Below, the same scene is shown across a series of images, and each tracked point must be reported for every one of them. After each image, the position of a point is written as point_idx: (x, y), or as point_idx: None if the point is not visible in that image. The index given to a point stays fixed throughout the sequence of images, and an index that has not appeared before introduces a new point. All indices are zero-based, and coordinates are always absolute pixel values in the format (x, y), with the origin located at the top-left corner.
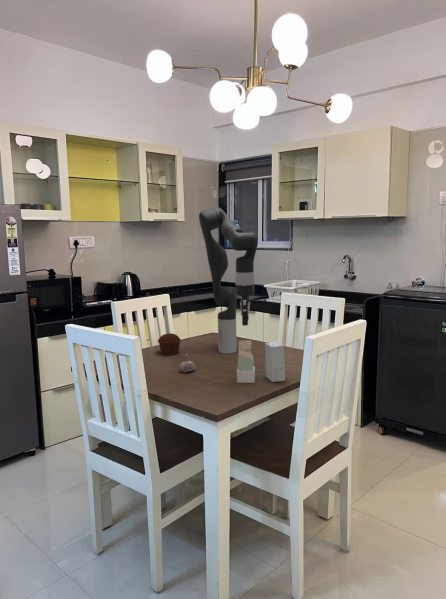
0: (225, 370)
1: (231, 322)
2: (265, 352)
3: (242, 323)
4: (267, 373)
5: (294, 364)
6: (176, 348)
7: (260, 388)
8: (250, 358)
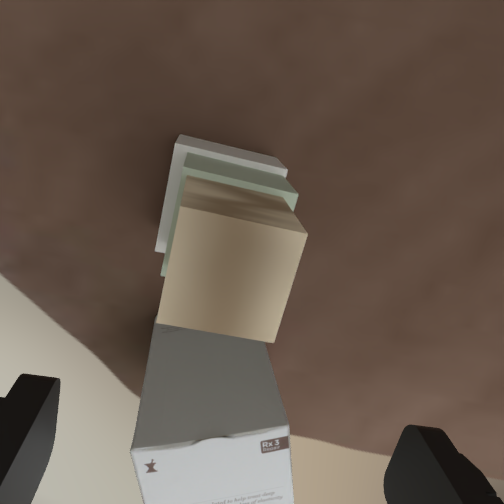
0: (417, 98)
1: None
2: (267, 380)
3: (9, 393)
4: None
5: None
6: None
7: (68, 243)
8: (167, 261)
